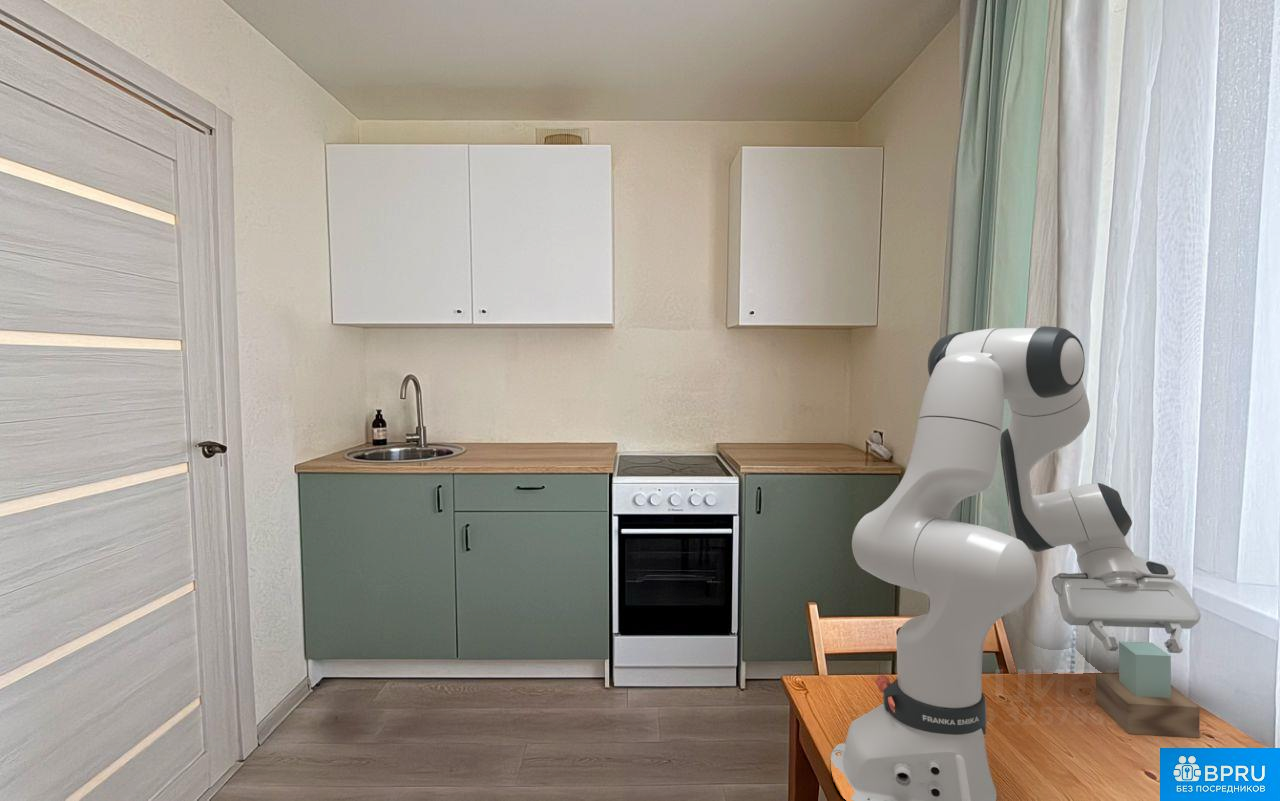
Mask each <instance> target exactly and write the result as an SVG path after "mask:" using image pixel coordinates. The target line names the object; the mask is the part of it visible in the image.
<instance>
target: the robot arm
mask: <svg viewBox="0 0 1280 801" xmlns="http://www.w3.org/2000/svg"><path fill="white" fill-rule="evenodd" d="M1085 364H1086V362H1085V350H1084V347H1083V345H1082V343H1081V340H1080V339H1079V338H1078V336H1077V335H1075V334H1073V333H1072V332H1071V331H1070V330H1069V329H1067V328H1063V327H1058V326H1057V327H1056V326H1047V325H1046V326H1045V325H1043V326H1039V327H1006V328H1005V327H991V328H985V329H984V328H983V329H977V330H973V331H967V332H965V331H964V332H963V331H958V332H954V333H952V334H950V333H949V334H948V335H945V336H943V337H941V338H939V339H938V340H937V341H936V343H935V344H934V345H933V346H932V348H931V350H930V352H929V354H928V359H927V372H928V377H929V381H928V382H927V386H926V388H925V391H924V394H923V398H922V401H921V402H922V403H921V406H920V410H919V415H918V420H917V426H916V431H915V436H914V439H913V445H912V449H911V454H910V457H909V461H908V464H907V468H906V470H905V471H904V472H905V473H904V475H903V476H902V479H901V480H900V482H899V484H898V485H897V487H896V488H895V490H894V491H893V492H892V493H891V495H890V496H889V497H888V498H887V499H886V500H885V501H884V502H883V503H882V504H881V505H879V506H877V507H876V508H875V509H874V510H872V511H869V512H868V513H866V514H864V515H863V517H862V518H860V520H859V521H858V523H857V525H856V526H855V527H854V530H853V532H852V539H851V549H852V554H853V557H854V559H855V561H856V564H857V565H858V566H859V568H860V569H862V570H864V571H865V572H867V573H869V574H871V575H872V576H874V577H876V578H878V579H879V580H881V581H884V582H886V583H888V584H890V585H891V584H892V585H895V586H897V587H898V586H899V587H902V588H905V589H908V590H913V591H915V592H919V593H923V594H925V595H927V596H928V598H929V611H928V613H924V614H919V615H917V616H914V617H912V618H910V619H908V620H907V621H905V622H904V623H903V624H902V625H901V628H899V630H898V633H897V635H896V665H897V666H896V667H897V668H896V669H897V670H896V671H897V673H896V674H897V678H896V679H895V680H893V682H890V678H888V676H887V675H885V674H879V675H878V676H877V677H876V678H875V684H876V686H877V689H878V690H879V692H881V694H882V695H883V697H882V699H883V700H882V701H883V703H882V704H880V705H879V706H876V707H875V708H873V709H872V710H869V711H867V712H866V713H865V714H864V713H863V715H861V716H858V717H857V718H855V719H854V720H853V721H852V722H851V723H850V725H849V728H848V730H847V734H846V740H845V742H841V743H838V744H836V745H835V747H834V748H833V750H832V751H831V754H830V760H831V762H832V763H833V764H834V766H835V768H838V769H839V771H840V772H841V771H842V772H843V774H844V776H845V777H846V779H847V781H848V782H849V784H850V785H851V786H852V789H854V792H855V794H854V795H853V796H852V798H851V800H853V801H997V797H998V794H997V789H996V786H995V784H994V780H993V778H992V774H991V769H990V766H989V761H988V756H987V750H986V741H985V735H986V734H987V721H988V718H987V717H988V716H987V715H988V714H987V712H988V711H987V702H986V697H985V694H984V693H983V692H982V685H983V684H982V678H983V677H982V675H983V674H982V673H983V672H982V669H983V655H984V654H983V653H984V645H985V641H986V640H987V636H988V633H989V632H990V630H991V629H992V627H993V626H994V625H995V623H997V622H998V620H999V619H1002V617H1004V616H1006V615H1008V614H1009V613H1012V612H1015V611H1017V610H1018V609H1020V608H1021V607H1022V606H1023V605H1025V604H1026V603H1027V602H1028V601H1029V600H1030V598H1031V597H1032V595H1033V593H1034V591H1035V590H1036V586H1037V581H1038V569H1037V564H1036V561H1035V560H1036V559H1035V558H1034V555H1033V553H1032V552H1031V551H1033V552H1036V553H1040V552H1043V551H1047V550H1050V549H1054V548H1057V547H1061V546H1066V545H1071V547H1072V548H1073V549H1074V551H1075V553H1076V561H1077V565H1078V568H1079V569H1080V571H1081V572H1077V573H1075V572H1074V573H1067V572H1059V573H1058V574H1056V575H1055V576H1053V577H1052V578H1051V585H1052V587H1053V591H1054V592H1055V593H1056V594H1057V597H1058V604H1059V608H1060V613H1061V616H1062V620H1063V621H1064V622H1066V624H1068V625H1069V626H1086V627H1087V626H1088V628H1089V631H1090V633H1091V634H1093V635H1094V637H1096V638H1097V639H1098V640H1099V641H1101V643H1102V645H1103V649H1104V650H1105V651H1108V652H1109V651H1110V652H1117V650H1119V643H1118V642H1117V639H1116V637H1115V636H1109V634H1107V633H1106V631H1105V630H1104V629H1103V627H1117V628H1118V627H1121V628H1149V629H1151V628H1153V629H1157V628H1158V629H1164V630H1165V632H1166V634H1169V635H1170V637H1169V638H1168V639H1167V641H1165V642H1164V643H1163V644H1164V646H1165V647H1166V651H1167V653H1168V654H1181V653H1183V650H1184V649H1183V646H1182V644H1181V641H1180V639H1181V635H1182V629H1185V630H1187V629H1188V630H1189V629H1192V628H1194V626H1196V625H1197V624H1198V623H1199V621H1200V619H1201V613H1200V612H1201V611H1200V610H1199V608H1198V606H1197V604H1196V603H1195V601H1194V599H1193V598H1192V595H1191V594H1190V592H1189V591H1188V589H1187V588H1186V587H1185V585H1183V584H1182V583H1181V582H1180V581H1178V580H1177V579H1174V578H1175V577H1176V571H1175V569H1174V568H1173V567H1172V566H1171V565H1169V564H1165V563H1161V562H1159V561H1158V562H1157V561H1155V560H1150V559H1147V558H1143V557H1140V556H1137V555H1135V553H1134V552H1133V550H1132V549H1131V548H1130V546H1128V545H1127V542H1126V536H1127V535H1128V533H1129V531H1130V529H1131V527H1132V524H1133V522H1132V518H1131V516H1130V515H1129V513H1128V511H1127V510H1126V508H1125V507H1124V505H1123V502H1122V498H1121V495H1120V492H1119V491H1117V490H1116V489H1114V488H1112V487H1110V486H1108V485H1106V484H1104V483H1100V482H1096V483H1087V484H1082V485H1077V486H1074V487H1073V486H1072V487H1068V488H1065V489H1061V490H1057V491H1056V490H1055V491H1051V492H1048V493H1042V494H1033V492H1032V483H1031V476H1030V475H1031V474H1030V473H1031V471H1032V470H1033V468H1034V466H1035V465H1037V464H1038V463H1039V462H1041V461H1042V460H1043V459H1045V458H1046V457H1048V456H1049V455H1052V454H1053V453H1055V452H1056V451H1058V450H1061V449H1063V448H1065V447H1067V446H1069V445H1070V444H1071V443H1073V442H1074V441H1076V440H1077V438H1079V436H1080V435H1081V434H1082V433H1083V432H1084V430H1086V427H1087V426H1088V423H1089V422H1090V418H1091V411H1090V410H1091V408H1090V403H1089V400H1088V395H1087V392H1086V388H1085V386H1084V383H1083V380H1082V378H1083V375H1084V372H1085ZM1005 400H1007V402H1008V405H1009V407H1010V410H1011V419H1010V423H1009V425H1008V427H1007V428H1006V429H1005V430H1003V431H1002V427H1003V421H1004V420H1003V419H1004V411H1005V410H1004V407H1005ZM999 446H1000V447H999ZM999 448H1000V456H1001V466H1002V471H1003V479H1004V485H1005V492H1006V498H1007V506H1008V509H1007V523H1008V527H1009V530H1010V533H1011V535H1012V536H1011V535H1009V534H1007V533H1004V532H1001V531H998V530H996V529H993V528H990V527H988V526H983V525H977V524H972V523H967V522H961V521H956V520H949V518H950V516H951V514H952V512H953V510H954V509H955V507H956V506H957V505H958V504H960V502H961V501H963V500H964V499H968V498H969V497H972V496H976V495H978V494H980V493H982V492H983V491H985V490H986V489H987V488H988V487H990V485H991V483H992V481H993V480H994V478H995V472H996V471H995V470H996V466H997V459H998V458H997V457H998V452H999ZM836 753H840V754H841V755H840V756H838V755H836ZM854 792H853V793H854Z"/></svg>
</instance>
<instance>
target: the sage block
mask: <svg viewBox="0 0 1280 801" xmlns="http://www.w3.org/2000/svg"><path fill="white" fill-rule="evenodd" d="M1118 660H1119V661H1118V667H1119V668H1118V675H1119V682H1120V683H1122V684H1123V685H1124V686H1125V687H1126V688H1127V689H1128V690H1129V691H1131V692H1132V693H1133V694H1134V695H1135V696H1139V697H1160V698H1171V685H1172V682H1171V680H1172V676H1171V675H1172V672H1171V671H1172V667H1171V666H1172V665H1171V664H1172V656H1171V655H1170V653H1168V652H1166V651H1165V650H1163V649H1162V648H1161V647H1159V646H1157V645H1156V644H1155V643H1153V642H1144V641H1143V642H1141V641H1140V642H1139V641H1118Z"/></svg>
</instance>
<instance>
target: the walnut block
mask: <svg viewBox="0 0 1280 801" xmlns="http://www.w3.org/2000/svg"><path fill="white" fill-rule="evenodd" d="M1095 702H1096V703H1097V704H1098V706H1100V707H1101V708H1102V709H1103V710H1104V712H1105V713H1107V714H1108V715H1109V716H1110V717H1111V718H1112V719H1113V720H1114V721H1115V722H1116V723H1117V724H1118V725H1119V726H1120V727H1121V728H1122V729H1123V730H1124V731H1125V732H1126V733H1127V734H1128V735H1138V736H1139V735H1141V736H1159V737H1176V738H1177V737H1179V738H1192V737H1199V738H1200V706H1199V705H1198V704H1196V703H1194V701H1192V700H1191V699H1190V698H1189V697H1187V696H1186V695H1184V693H1182V692H1181V691H1180V690H1178V689H1177V688H1176V687H1174V686H1173V685H1172V684H1171V698H1160V697H1139V696H1135V695H1134V694H1133V693H1132V692H1131V691H1129V690H1128V689H1127V688H1126V687H1125V686H1124V685H1123V684H1122V683H1120V682H1119V674H1106V673H1105V674H1104V673H1102V674H1101V673H1096V674H1095Z"/></svg>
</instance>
